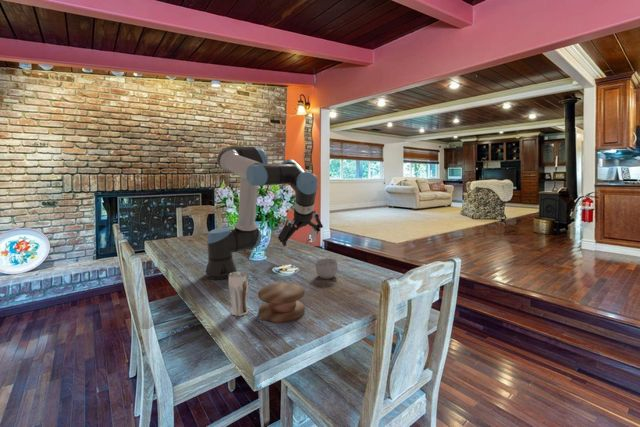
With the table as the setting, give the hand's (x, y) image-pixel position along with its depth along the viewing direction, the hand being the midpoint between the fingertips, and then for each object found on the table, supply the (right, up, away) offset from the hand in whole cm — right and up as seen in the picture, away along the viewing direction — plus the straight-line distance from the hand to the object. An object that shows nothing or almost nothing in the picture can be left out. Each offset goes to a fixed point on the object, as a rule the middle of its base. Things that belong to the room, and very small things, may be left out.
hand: (299, 244), depth 138 cm
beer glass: (-21, -24, -20) cm, 37 cm away
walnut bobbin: (-5, -23, -19) cm, 31 cm away
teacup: (+12, -18, +20) cm, 29 cm away
